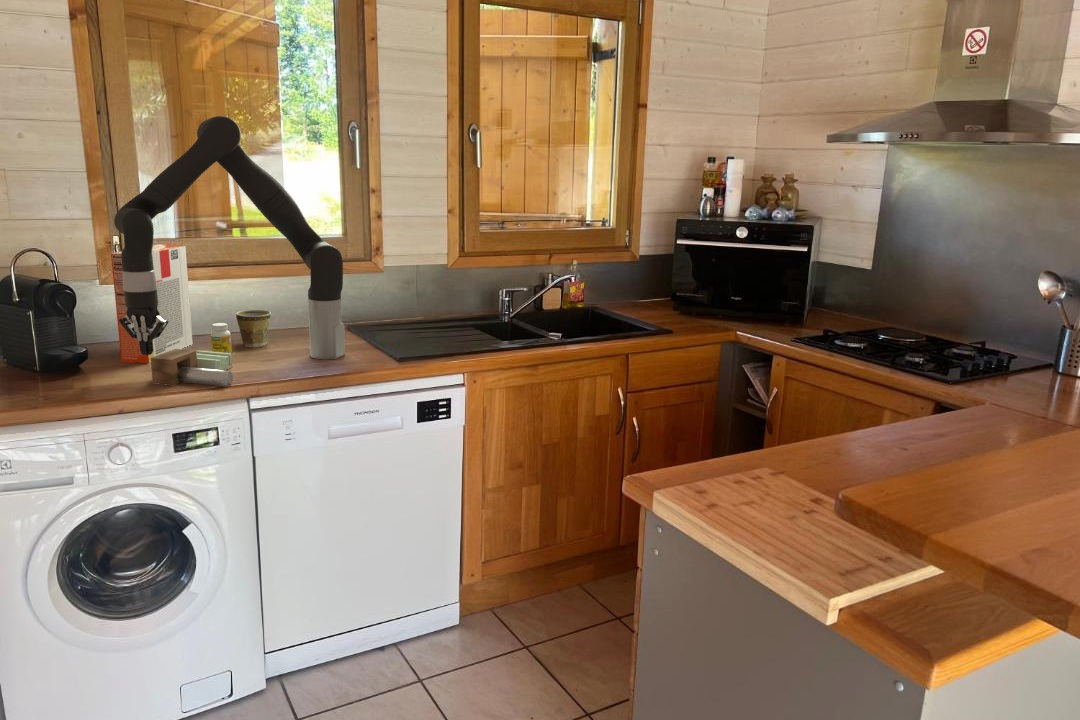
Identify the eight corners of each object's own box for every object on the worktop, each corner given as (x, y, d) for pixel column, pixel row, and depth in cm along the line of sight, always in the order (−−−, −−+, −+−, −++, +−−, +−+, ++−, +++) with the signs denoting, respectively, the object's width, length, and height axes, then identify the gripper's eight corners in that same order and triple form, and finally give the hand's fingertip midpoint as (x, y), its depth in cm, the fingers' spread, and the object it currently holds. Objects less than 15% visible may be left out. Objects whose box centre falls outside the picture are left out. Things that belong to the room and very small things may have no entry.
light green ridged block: (232, 367, 215) (231, 353, 214) (215, 374, 208) (214, 360, 207) (199, 364, 217) (198, 350, 216) (181, 371, 209) (180, 357, 208)
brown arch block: (197, 375, 207) (196, 350, 205) (173, 385, 197) (171, 359, 195) (177, 373, 208) (175, 348, 206) (152, 383, 198) (150, 357, 196)
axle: (233, 384, 201) (232, 369, 200) (224, 388, 197) (223, 373, 196) (163, 376, 205) (162, 362, 203) (153, 381, 201) (152, 366, 200)
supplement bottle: (233, 354, 229) (231, 322, 226) (230, 358, 224) (228, 326, 221) (213, 354, 227) (211, 322, 225) (210, 359, 222) (208, 326, 220)
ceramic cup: (276, 346, 239) (274, 314, 237) (242, 350, 234) (240, 317, 231) (264, 337, 250) (262, 307, 247) (231, 340, 244) (229, 309, 242)
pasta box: (167, 342, 238) (159, 244, 231) (192, 344, 238) (185, 245, 230) (121, 361, 216) (110, 253, 209) (149, 363, 215) (139, 255, 208)
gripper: (173, 287, 199) (179, 352, 204) (127, 284, 202) (134, 349, 206) (154, 292, 192) (160, 360, 197) (106, 289, 195) (114, 356, 199)
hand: (147, 354), depth 201 cm, fingers closed
